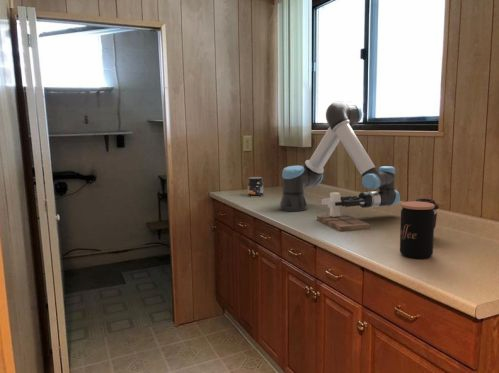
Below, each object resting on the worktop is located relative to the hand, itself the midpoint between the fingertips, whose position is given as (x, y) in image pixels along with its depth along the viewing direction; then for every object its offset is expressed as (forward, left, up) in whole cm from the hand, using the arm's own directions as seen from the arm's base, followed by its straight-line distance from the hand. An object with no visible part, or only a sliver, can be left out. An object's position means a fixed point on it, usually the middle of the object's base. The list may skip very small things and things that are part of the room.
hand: (325, 203), depth 195 cm
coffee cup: (+38, +25, -9) cm, 46 cm away
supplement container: (-85, -10, -9) cm, 86 cm away
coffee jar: (+57, +7, -9) cm, 58 cm away
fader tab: (0, +5, -7) cm, 8 cm away
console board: (+7, +5, -9) cm, 13 cm away
